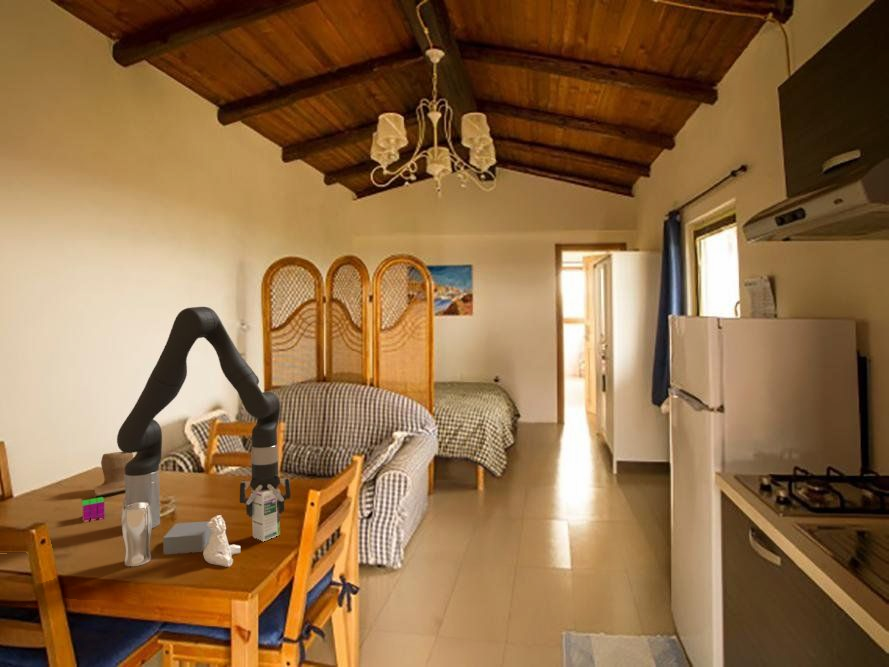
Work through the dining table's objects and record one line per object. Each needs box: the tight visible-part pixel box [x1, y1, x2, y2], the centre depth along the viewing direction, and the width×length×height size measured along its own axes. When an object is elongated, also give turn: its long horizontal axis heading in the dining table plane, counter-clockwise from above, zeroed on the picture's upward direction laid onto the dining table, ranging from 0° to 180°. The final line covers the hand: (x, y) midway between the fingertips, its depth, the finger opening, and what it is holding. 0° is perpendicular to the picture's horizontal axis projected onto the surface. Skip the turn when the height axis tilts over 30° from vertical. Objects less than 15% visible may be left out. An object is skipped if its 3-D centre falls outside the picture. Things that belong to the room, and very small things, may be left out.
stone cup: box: [93, 451, 134, 498], centre depth 193 cm, size 15×12×15 cm
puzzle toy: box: [81, 496, 106, 522], centre depth 167 cm, size 6×6×6 cm
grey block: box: [162, 520, 212, 555], centre depth 146 cm, size 10×10×5 cm
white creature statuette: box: [202, 514, 241, 568], centre depth 137 cm, size 10×9×12 cm
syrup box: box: [250, 487, 281, 543], centre depth 151 cm, size 6×6×14 cm
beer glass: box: [121, 502, 153, 567], centre depth 136 cm, size 7×7×15 cm
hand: (265, 514), depth 151 cm, fingers closed on syrup box, 8 cm apart
